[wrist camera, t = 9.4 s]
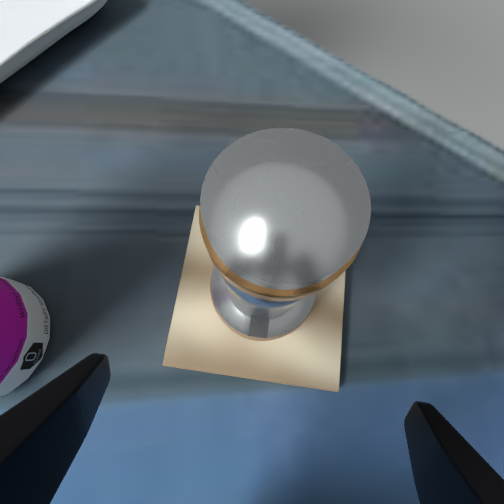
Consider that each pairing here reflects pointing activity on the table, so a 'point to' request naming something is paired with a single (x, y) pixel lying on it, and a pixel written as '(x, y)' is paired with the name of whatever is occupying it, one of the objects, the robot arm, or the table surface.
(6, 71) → the salad plate
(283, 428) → the table surface
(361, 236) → the grey tall flared piece
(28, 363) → the supplement can
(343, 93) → the table surface
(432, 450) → the robot arm
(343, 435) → the table surface
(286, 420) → the table surface
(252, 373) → the beige square tile
